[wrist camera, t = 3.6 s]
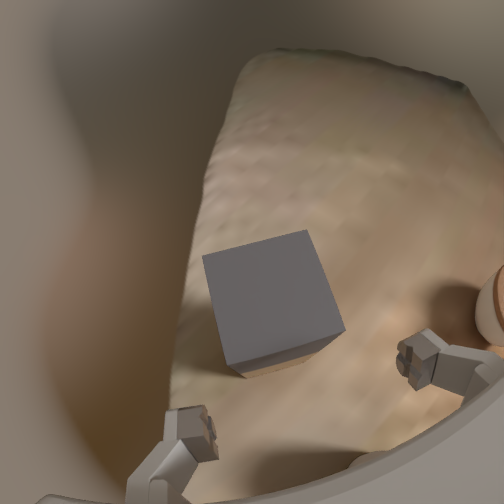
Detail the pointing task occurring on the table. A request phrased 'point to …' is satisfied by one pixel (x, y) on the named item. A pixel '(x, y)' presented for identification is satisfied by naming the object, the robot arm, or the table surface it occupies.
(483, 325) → the lidded jar
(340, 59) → the table surface
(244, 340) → the gray rectangular block
